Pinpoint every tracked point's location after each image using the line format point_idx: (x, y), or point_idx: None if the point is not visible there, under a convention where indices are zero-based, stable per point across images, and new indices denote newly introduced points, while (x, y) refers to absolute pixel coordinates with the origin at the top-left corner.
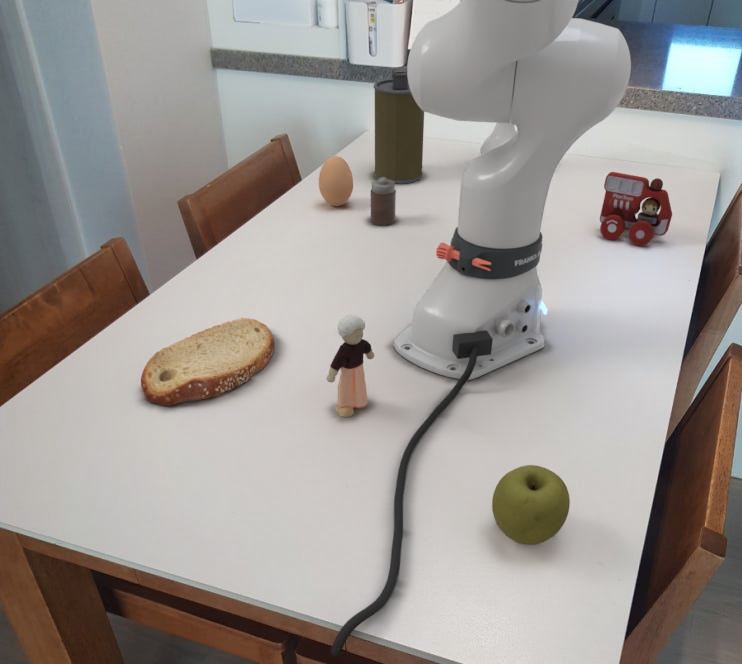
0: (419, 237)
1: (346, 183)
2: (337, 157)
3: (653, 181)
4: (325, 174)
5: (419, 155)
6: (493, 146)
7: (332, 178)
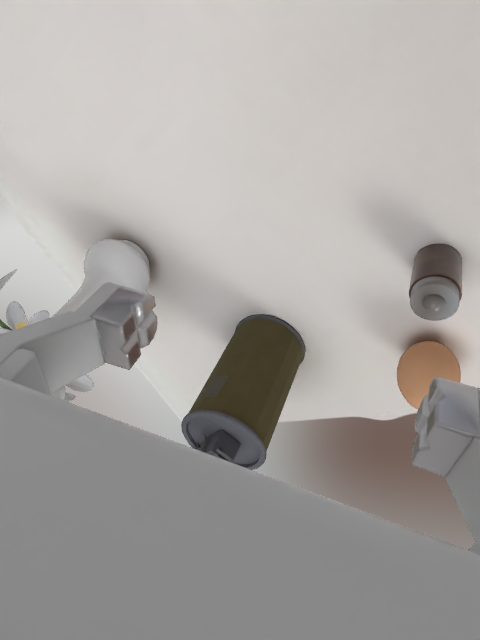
0: (461, 168)
1: (433, 358)
2: None
3: None
4: None
5: (245, 339)
6: (133, 279)
7: (453, 378)
